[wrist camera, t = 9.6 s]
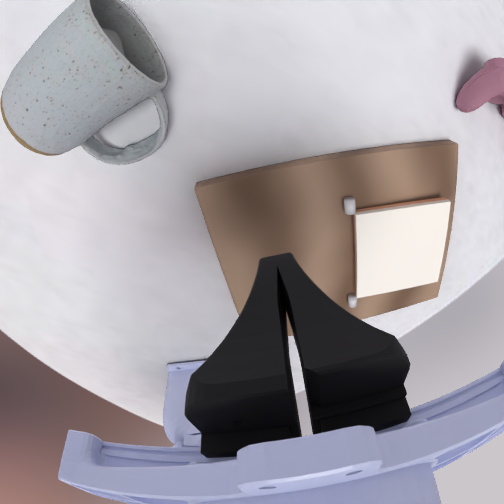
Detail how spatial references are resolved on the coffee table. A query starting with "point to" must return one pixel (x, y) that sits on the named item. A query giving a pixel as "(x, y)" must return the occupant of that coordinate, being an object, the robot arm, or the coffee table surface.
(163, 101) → the ceramic mug
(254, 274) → the board
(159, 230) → the coffee table surface
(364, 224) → the hinged panel
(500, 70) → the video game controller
